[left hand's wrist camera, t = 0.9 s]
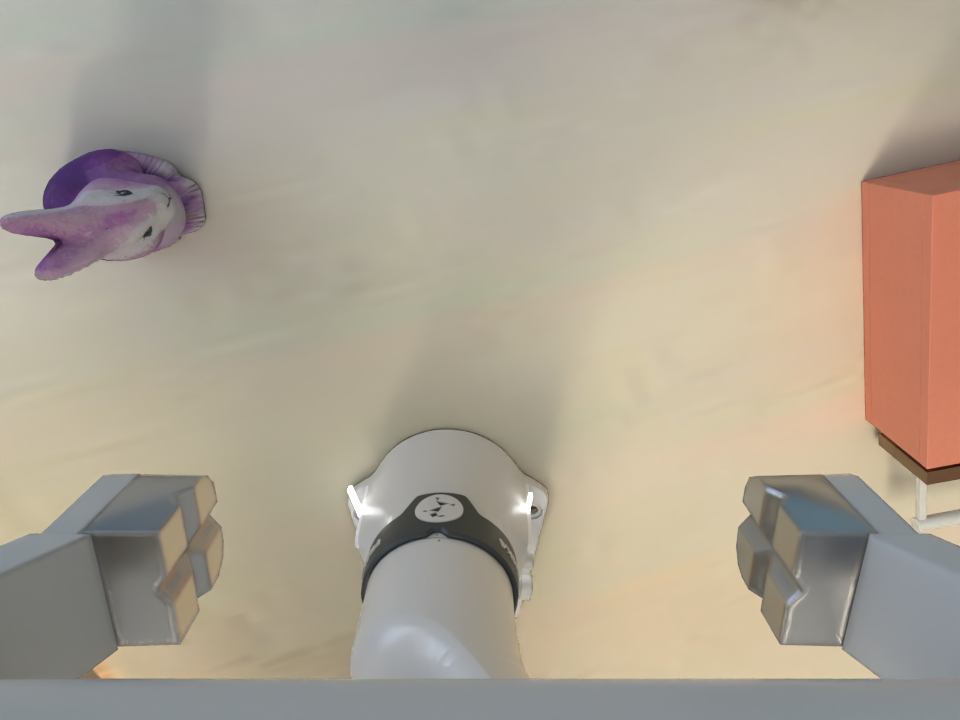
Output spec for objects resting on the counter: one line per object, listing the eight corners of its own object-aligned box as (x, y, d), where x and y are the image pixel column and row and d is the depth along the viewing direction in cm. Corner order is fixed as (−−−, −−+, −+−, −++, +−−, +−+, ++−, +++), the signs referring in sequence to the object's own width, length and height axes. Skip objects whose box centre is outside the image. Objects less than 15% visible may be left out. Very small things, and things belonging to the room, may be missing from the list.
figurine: (235, 195, 53) (147, 227, 39) (159, 282, 56) (50, 342, 42) (137, 104, 51) (6, 103, 37) (62, 200, 53) (-88, 233, 39)
